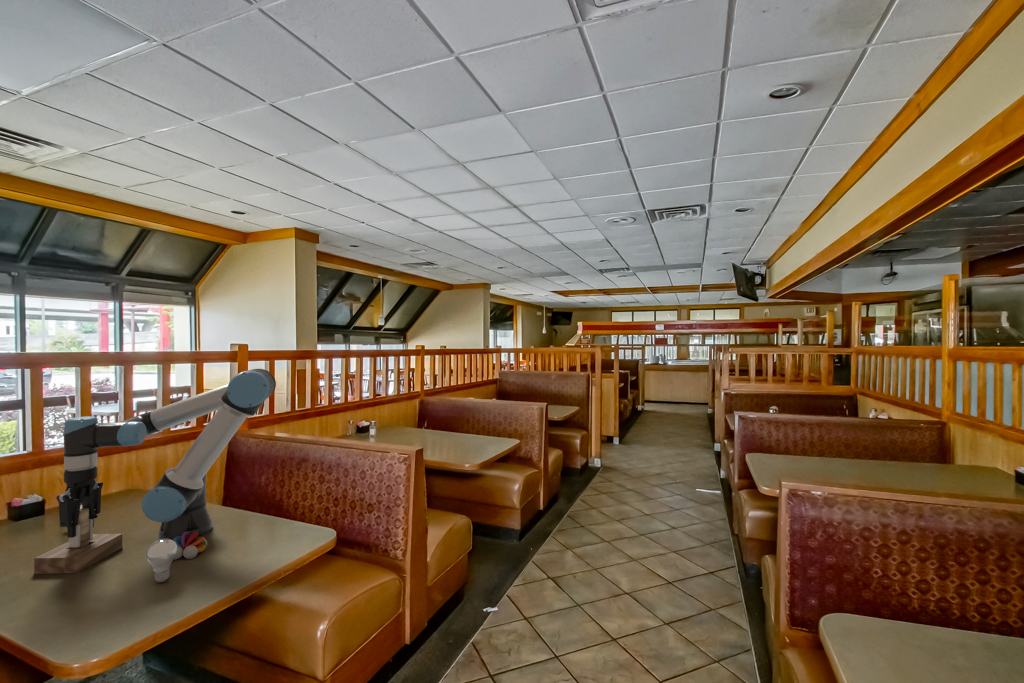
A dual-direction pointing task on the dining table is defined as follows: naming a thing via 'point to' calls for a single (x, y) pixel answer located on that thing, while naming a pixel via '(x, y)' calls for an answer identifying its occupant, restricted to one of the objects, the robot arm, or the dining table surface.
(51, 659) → the dining table surface
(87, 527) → the dowel
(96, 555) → the board
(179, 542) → the rainbow fan toy
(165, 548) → the light bulb
